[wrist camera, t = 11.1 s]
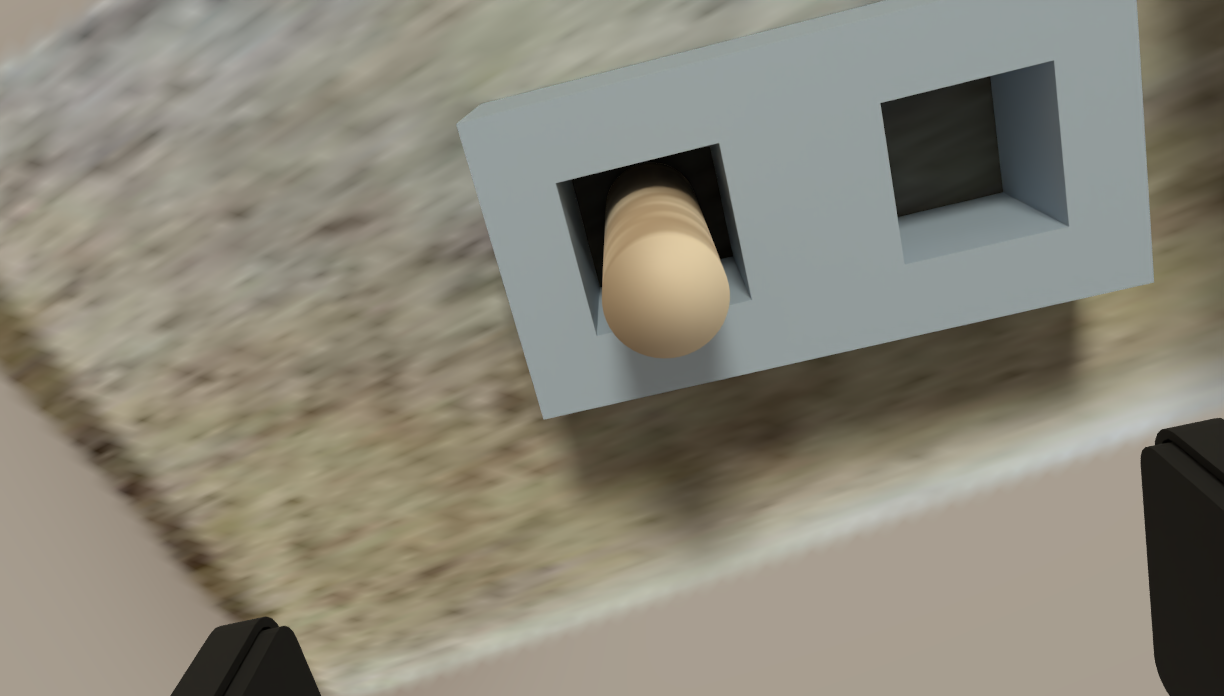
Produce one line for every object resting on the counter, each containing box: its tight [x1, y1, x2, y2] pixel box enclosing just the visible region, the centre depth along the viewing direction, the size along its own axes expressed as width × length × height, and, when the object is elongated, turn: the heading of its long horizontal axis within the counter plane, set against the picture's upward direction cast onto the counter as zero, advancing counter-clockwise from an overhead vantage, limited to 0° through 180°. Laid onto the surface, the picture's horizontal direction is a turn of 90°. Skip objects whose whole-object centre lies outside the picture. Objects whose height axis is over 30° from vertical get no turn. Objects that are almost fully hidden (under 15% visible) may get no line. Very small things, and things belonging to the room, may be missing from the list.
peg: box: [602, 162, 730, 358], centre depth 28 cm, size 3×3×10 cm
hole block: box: [456, 0, 1154, 419], centre depth 30 cm, size 18×9×5 cm, turn 104°
